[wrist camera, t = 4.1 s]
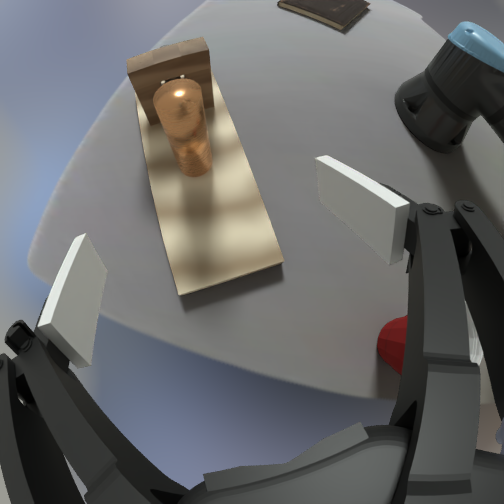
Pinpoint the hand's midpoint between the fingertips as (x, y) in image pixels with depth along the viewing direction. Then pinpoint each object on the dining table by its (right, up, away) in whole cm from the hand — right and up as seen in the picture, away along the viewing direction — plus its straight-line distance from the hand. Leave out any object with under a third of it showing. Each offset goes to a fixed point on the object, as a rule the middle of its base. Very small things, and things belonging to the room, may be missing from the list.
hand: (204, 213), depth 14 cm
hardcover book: (+21, +58, +30) cm, 69 cm away
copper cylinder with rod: (-7, +16, +18) cm, 24 cm away
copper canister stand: (-5, +10, +20) cm, 23 cm away
